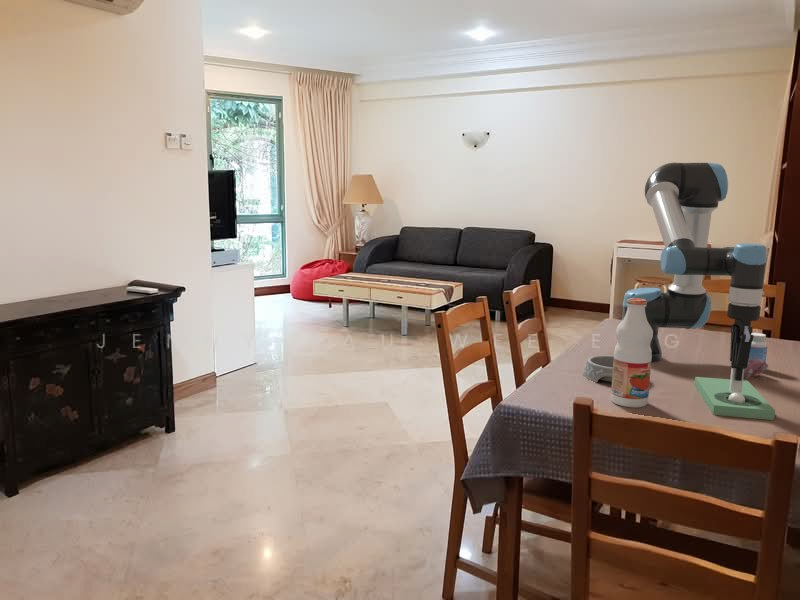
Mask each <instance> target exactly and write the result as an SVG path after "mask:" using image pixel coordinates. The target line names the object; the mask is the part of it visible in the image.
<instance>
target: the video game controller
mask: <svg viewBox="0 0 800 600" xmlns="http://www.w3.org/2000/svg"><path fill="white" fill-rule="evenodd" d="M768 367H769V365H768V363H765V362H764V361H762V360H750V361H749V362H748V365H747V368H745V369H744V376H743V377H744V378H746V379H749V378H751V377H753V378H757V377H758V376H759V375H760V374H763V372H765V371H766V370H767V369H768ZM756 376H757V377H756Z"/></svg>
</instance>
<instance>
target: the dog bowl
mask: <svg viewBox="0 0 800 600" xmlns="http://www.w3.org/2000/svg"><path fill="white" fill-rule="evenodd" d="M613 361H614V355H596V356H594V355H593V356H591V357H588V358H587V361H586V363H585V368H584V370H583V373H582V376H583V375H584V377H586V378H587V379H588V380H587V379H586V380H587V381H589V380H591V381H593V382H592V383H594V382H595V383H594V384H597V383H598V381H599V380H601V381H604V382H609V383H612V375H613ZM584 377H583V378H584ZM591 381H590V382H591Z"/></svg>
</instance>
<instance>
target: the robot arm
mask: <svg viewBox="0 0 800 600" xmlns="http://www.w3.org/2000/svg"><path fill="white" fill-rule="evenodd" d="M728 189H729V181H728V175H727V172H726V169H725V168H724V166H723V165H722V164H719V163H714V162H668V163H664V164H663V165H660V166H658V167H657V168H656V169H654V171H652V173H651V174H650V175H649V177H648V178H647V180H646V182H645V185H644V196H645V201H646V202H647V204H648V205H649V206H650V207H652V210H653V212H654V216H655V219H656V223H657V226H658V229H659V232H660V235H661V238H662V242H663V245H664V248H663V249H662V250H661V254H660V268H661V271H662V272H663V273H664V274H668V275H674V277H673V282H672V283H671V284H669V285H668V286H667V291H666V292H663V291H662V289H660V288H658V287H640V288H639V287H637V288H632V289H629V290H627V291H626V292H625V293H624V296H623V302H622V316H621V317H622V318H621V322H622V321H623V319H624V317H625V315H626V312H627V309H628V305H627V299H628V298H640V299H645V300H647V304H646V307H645V314H646V318H647V321H648V323H649V324H650V326H651V328H652V330H653V337H652V340H651V343H650V348H651V351H652V359H651V363H656V362H661V361H662V357H663V352H662V348H661V344H660V341H659V340H660V339H659V328H661V329H662V328H665V329H686V330H691V329H700V328H702V327H704V325H706V323H707V321H708V320H709V318H710V315H711V309H712V305H711V303H712V301H711V300H712V299H711V297H710V295H709V294H707V290H706V288H705V287H704V286H703V279H704V276H719V277H720V276H724V277H725V276H726V277H727V276H728V277H730V284H729V291H728V293H729V294H728V302H730V303H728V305H727V315H726V316H727V317H728V319H732V320H734V322H733V323H732V324H731V325H730V349H729V350H730V355H729V357H730V358H729V362H731V363H730V364H731V365H730V368H731V369H730V388H729V390H730V392H741V393H742V385H743V381H744V377H745V376H744V369H745V368H747V365H748V360H749V354H750V349H751V344H752V341H753V338H754V336H753V335H751V334H752V333H753V327H752V325H751V323H752V322H753V321H754V322H756V321H759V320H760V318H761V310H762V308H761V305H760V304H762V300H763V299H762V297H763V296H764V295H765V291H764V290H763V288H764V280H765V275H766V274H765V273H766V266H767V260H768V258H767V253H768V250H767V246H766V245H764V244H761V243H759V244H758V243H747V242H746V243H737V244H735V246H731V247H730V246H726V247H725V246H724V247H708V243H709V241H708V240H709V234H710V227H711V219H712V213H713V212H714V211H715V210H716V209H718V208H719V202H723V201H725V200H726V198H727V195H728V191H729V190H728Z"/></svg>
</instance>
